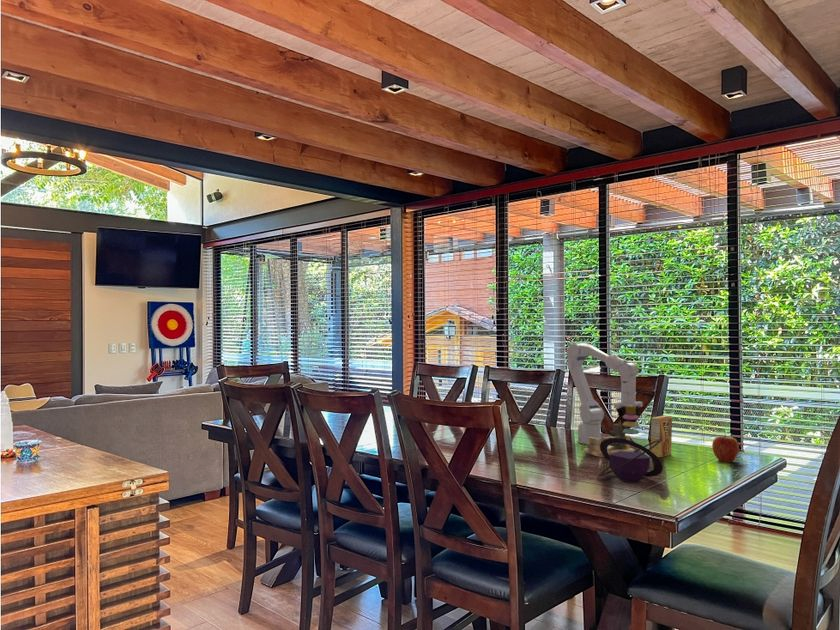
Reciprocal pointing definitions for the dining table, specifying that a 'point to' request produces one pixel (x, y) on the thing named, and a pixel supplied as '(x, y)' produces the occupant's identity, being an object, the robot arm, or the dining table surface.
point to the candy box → (661, 435)
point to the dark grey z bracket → (617, 431)
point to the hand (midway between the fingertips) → (628, 425)
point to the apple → (725, 448)
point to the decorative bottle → (630, 455)
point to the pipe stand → (595, 447)
